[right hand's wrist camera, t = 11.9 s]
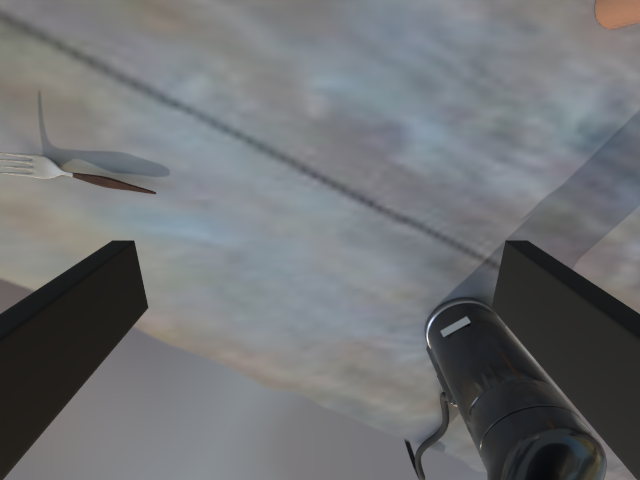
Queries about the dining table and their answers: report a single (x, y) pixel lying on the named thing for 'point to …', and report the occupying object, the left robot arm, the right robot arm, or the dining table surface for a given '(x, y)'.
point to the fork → (65, 173)
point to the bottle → (617, 13)
